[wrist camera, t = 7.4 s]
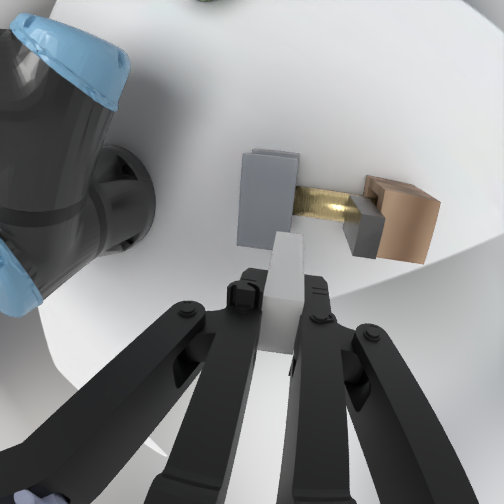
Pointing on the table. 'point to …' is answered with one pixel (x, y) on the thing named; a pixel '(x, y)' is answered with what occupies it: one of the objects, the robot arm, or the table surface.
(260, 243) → the grey slotted clamp block
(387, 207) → the socket block
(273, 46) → the table surface
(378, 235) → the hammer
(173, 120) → the table surface
